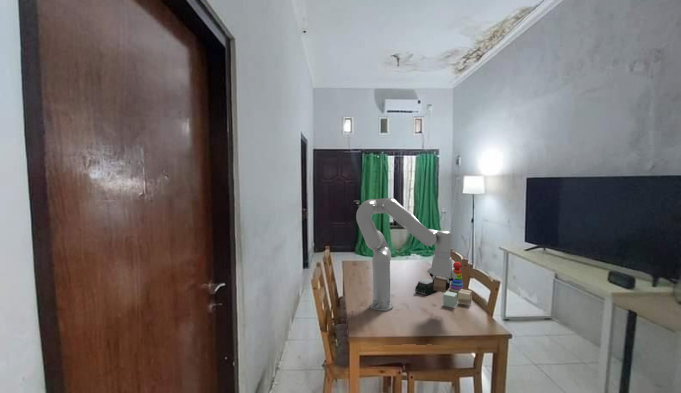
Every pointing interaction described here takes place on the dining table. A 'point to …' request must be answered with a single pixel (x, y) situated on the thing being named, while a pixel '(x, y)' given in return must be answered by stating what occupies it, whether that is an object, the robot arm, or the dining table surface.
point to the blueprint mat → (457, 304)
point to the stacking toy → (457, 282)
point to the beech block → (465, 297)
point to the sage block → (450, 299)
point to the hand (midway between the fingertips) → (440, 287)
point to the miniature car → (425, 287)
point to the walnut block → (440, 284)
